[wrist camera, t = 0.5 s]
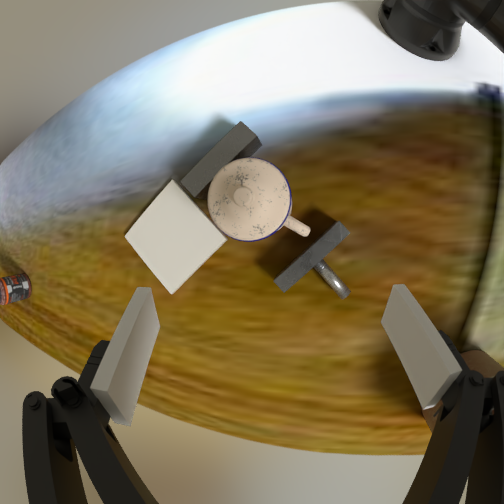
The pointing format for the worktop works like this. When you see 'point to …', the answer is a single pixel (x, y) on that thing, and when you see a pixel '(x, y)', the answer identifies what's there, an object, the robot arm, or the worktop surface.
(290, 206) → the teacup with lid
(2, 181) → the worktop surface
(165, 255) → the tile
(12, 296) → the supplement bottle
